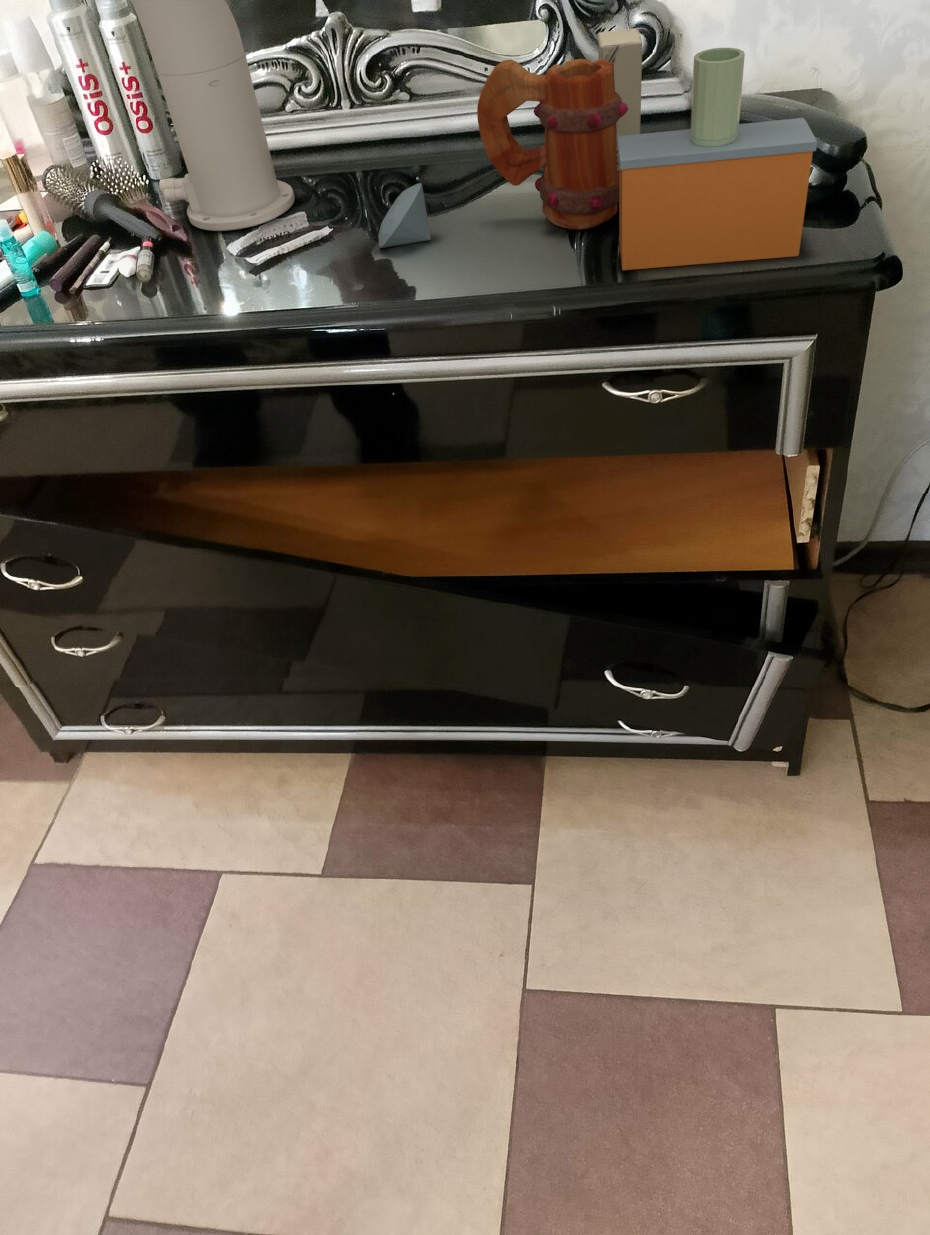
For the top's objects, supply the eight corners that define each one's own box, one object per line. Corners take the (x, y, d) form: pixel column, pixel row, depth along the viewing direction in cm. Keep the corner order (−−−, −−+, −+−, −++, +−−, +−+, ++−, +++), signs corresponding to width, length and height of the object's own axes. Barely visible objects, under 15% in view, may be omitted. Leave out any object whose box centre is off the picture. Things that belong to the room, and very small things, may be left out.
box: (598, 157, 109) (596, 31, 100) (637, 153, 108) (638, 25, 99) (601, 174, 105) (599, 44, 96) (641, 170, 104) (643, 39, 95)
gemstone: (459, 194, 97) (420, 162, 95) (442, 235, 93) (401, 202, 91) (420, 243, 103) (382, 214, 101) (402, 284, 98) (363, 255, 97)
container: (620, 271, 88) (619, 160, 81) (617, 244, 92) (616, 136, 85) (801, 257, 86) (817, 141, 79) (790, 229, 90) (804, 117, 83)
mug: (634, 203, 98) (635, 41, 88) (622, 237, 93) (621, 68, 82) (499, 205, 102) (485, 50, 92) (480, 237, 97) (463, 76, 86)
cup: (692, 149, 81) (697, 64, 76) (688, 132, 83) (691, 50, 79) (740, 144, 80) (747, 59, 76) (734, 128, 83) (740, 45, 78)
